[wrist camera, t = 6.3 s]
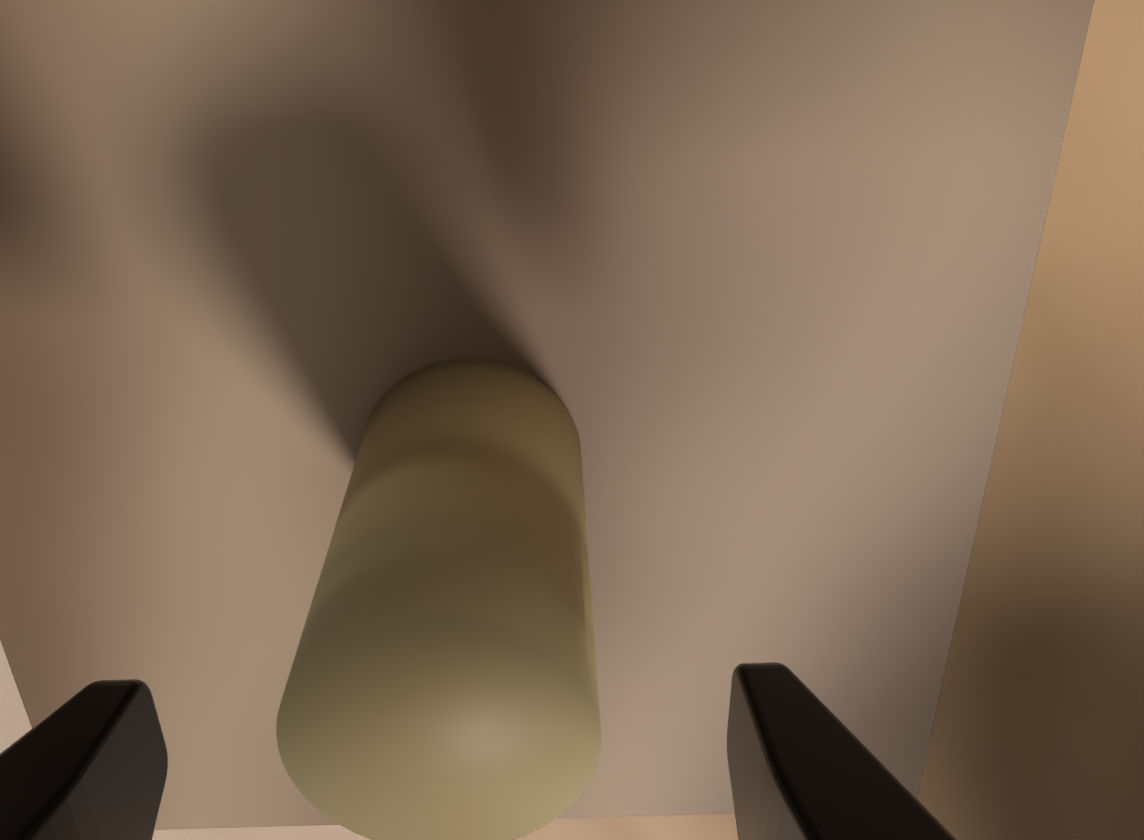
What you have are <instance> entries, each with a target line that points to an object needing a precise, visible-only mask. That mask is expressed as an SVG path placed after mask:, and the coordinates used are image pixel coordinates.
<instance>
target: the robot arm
mask: <svg viewBox="0 0 1144 840" xmlns="http://www.w3.org/2000/svg"><path fill="white" fill-rule="evenodd" d="M727 758H728V766H729V774H730V781H731V788H732V796H733V803H734V810H735V817H736V825H737V832H738V839H739V840H956V839H955V838H954V837H953V836H952V835H951V834H950V833H949V832H948V831H947V830H946V829H945V828H944V827H943V826H942V825H941V824H940V823H939V822H938V820H937V819H936V818H935V817H934V816H933V815H932V814H931V813H930V812H929V811H928V810H927V809H926V808H925V807H924V806H923V805H922V804H921V803H920V802H919V801H918V800H917V799H916V798H915V797H914V796H913V795H912V794H911V793H910V792H909V791H908V790H907V789H906V788H905V787H904V786H903V785H902V784H901V783H900V782H899V781H898V779H897V778H896V777H895V776H894V775H893V774H892V773H891V772H890V771H889V770H888V769H887V768H886V767H885V766H884V765H883V764H882V763H881V762H880V761H879V760H878V759H877V758H876V757H875V756H874V755H873V754H872V753H871V752H870V751H869V750H868V749H867V748H866V747H865V746H864V745H863V744H862V743H861V742H860V741H859V740H858V738H857V737H856V736H855V735H854V734H853V733H852V732H851V731H850V730H849V729H848V728H847V727H846V726H845V725H844V724H843V723H842V722H841V721H840V720H839V719H838V718H837V717H836V716H835V715H834V714H833V713H832V712H831V711H830V710H829V709H828V708H827V707H826V706H825V705H824V704H823V703H822V702H821V701H820V700H819V699H818V697H817V696H816V695H815V694H814V693H813V692H812V691H811V690H810V689H809V688H808V687H807V686H806V685H805V684H804V683H803V682H802V681H801V680H800V679H799V678H798V677H797V676H796V675H795V674H794V673H793V672H792V671H791V670H790V669H789V668H788V667H787V666H785V665H783V664H782V663H777V662H768V663H742V664H739V665H738V666H737V667H735V669H734V671H733V675H732V683H731V694H730V704H729V715H728V726H727ZM167 770H168V753H167V747H166V743H165V740H164V736H163V732H162V729H161V725H160V722H159V718H158V714H157V711H156V707H155V703H154V700H153V696H152V693H151V691H150V688H149V687H148V685H147V684H146V683H145V682H144V681H141V680H138V679H124V680H100V681H95V682H93V683H91V684H89V685H87V686H86V687H84V688H83V689H82V690H81V691H79V692H78V693H77V694H76V695H74V696H73V697H72V698H70V699H69V700H68V701H67V702H65V703H64V704H63V705H62V706H60V707H59V708H58V709H56V710H55V711H54V712H53V713H51V714H50V715H49V716H48V717H46V718H45V719H44V720H43V721H41V722H40V723H39V724H37V725H36V726H35V727H34V728H32V729H31V730H30V731H29V732H27V733H26V734H25V735H23V736H22V737H21V738H20V739H18V740H17V741H16V742H15V743H13V744H12V745H11V746H10V747H8V748H7V749H6V750H4V751H3V752H2V753H1V754H0V840H152V837H153V833H154V829H155V824H156V820H157V816H158V812H159V808H160V803H161V799H162V795H163V791H164V787H165V782H166V777H167Z"/></svg>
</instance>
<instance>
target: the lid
mask: <svg viewBox="0 0 1144 840" xmlns="http://www.w3.org/2000/svg"><path fill="white" fill-rule="evenodd" d="M1093 3H1094V0H0V640H1V643H2V646H3V649H4V651H5V654H6V657H7V660H8V662H9V665H10V668H11V671H12V674H13V676H14V679H15V682H16V685H17V687H18V690H19V693H20V696H21V699H22V701H23V704H24V707H25V710H26V713H27V715H28V718H29V721H30V724H31V726H32V728H34V727H35V726H36V725H37V724H39V723H40V722H41V721H43V720H44V719H45V718H46V717H48V716H49V715H50V714H51V713H53V712H54V711H55V710H56V709H58V708H59V707H60V706H62V705H63V704H64V703H65V702H67V701H68V700H69V699H70V698H72V697H73V696H74V695H76V694H77V693H78V692H79V691H81V690H82V689H83V688H84V687H86V686H87V685H89V684H91V683H93V682H95V681H100V680H124V679H138V680H141V681H144V682H145V683H146V684H147V685H148V687H149V688H150V691H151V693H152V696H153V700H154V703H155V707H156V711H157V714H158V718H159V722H160V725H161V729H162V732H163V736H164V740H165V743H166V747H167V753H168V770H167V777H166V782H165V787H164V791H163V795H162V799H161V803H160V808H159V812H158V816H157V820H156V824H155V829H154V830H167V829H202V828H237V827H272V826H307V825H341V826H343V827H345V828H347V829H349V830H351V831H353V832H354V833H357V834H359V835H362V836H364V837H367V838H369V839H372V840H515V839H518V838H520V837H523V836H526V835H528V834H530V833H532V832H534V831H536V830H538V829H540V828H542V827H543V826H545V825H546V824H548V823H550V822H551V821H553V820H554V819H556V818H588V817H623V816H658V815H693V814H729V813H735V810H734V803H733V796H732V788H731V781H730V774H729V766H728V758H727V726H728V715H729V704H730V694H731V683H732V675H733V671H734V669H735V667H737V666H738V665H739V664H742V663H768V662H777V663H782V664H783V665H785V666H787V667H788V668H789V669H790V670H791V671H792V672H793V673H794V674H795V675H796V676H797V677H798V678H799V679H800V680H801V681H802V682H803V683H804V684H805V685H806V686H807V687H808V688H809V689H810V690H811V691H812V692H813V693H814V694H815V695H816V696H817V697H818V699H819V700H820V701H821V702H822V703H823V704H824V705H825V706H826V707H827V708H828V709H829V710H830V711H831V712H832V713H833V714H834V715H835V716H836V717H837V718H838V719H839V720H840V721H841V722H842V723H843V724H844V725H845V726H846V727H847V728H848V729H849V730H850V731H851V732H852V733H853V734H854V735H855V736H856V737H857V738H858V740H859V741H860V742H861V743H862V744H863V745H864V746H865V747H866V748H867V749H868V750H869V751H870V752H871V753H872V754H873V755H874V756H875V757H876V758H877V759H878V760H879V761H880V762H881V763H882V764H883V765H884V766H885V767H886V768H887V769H888V770H889V771H890V772H891V773H892V774H893V775H894V776H895V777H896V778H897V779H898V781H899V782H900V783H901V784H902V785H903V786H904V787H905V788H906V789H907V790H908V791H909V792H910V793H911V794H912V795H913V796H914V797H915V798H917V794H918V789H919V785H920V780H921V776H922V771H923V767H924V762H925V758H926V753H927V749H928V744H929V740H930V735H931V731H932V726H933V722H934V718H935V713H936V709H937V704H938V700H939V695H940V691H941V686H942V682H943V677H944V673H945V668H946V664H947V659H948V655H949V650H950V646H951V641H952V637H953V632H954V628H955V623H956V619H957V614H958V610H959V605H960V601H961V596H962V592H963V587H964V583H965V578H966V574H967V569H968V565H969V560H970V556H971V551H972V547H973V542H974V538H975V533H976V529H977V524H978V520H979V515H980V511H981V506H982V502H983V497H984V493H985V488H986V484H987V479H988V475H989V470H990V466H991V461H992V457H993V452H994V448H995V443H996V439H997V434H998V430H999V425H1000V421H1001V416H1002V412H1003V407H1004V403H1005V398H1006V394H1007V389H1008V385H1009V380H1010V376H1011V371H1012V367H1013V362H1014V358H1015V353H1016V349H1017V345H1018V340H1019V336H1020V331H1021V327H1022V322H1023V318H1024V313H1025V309H1026V304H1027V300H1028V295H1029V291H1030V286H1031V282H1032V277H1033V273H1034V268H1035V264H1036V259H1037V255H1038V250H1039V246H1040V241H1041V237H1042V232H1043V228H1044V223H1045V219H1046V214H1047V210H1048V205H1049V201H1050V196H1051V192H1052V187H1053V183H1054V178H1055V174H1056V169H1057V165H1058V160H1059V156H1060V151H1061V147H1062V142H1063V138H1064V133H1065V129H1066V124H1067V120H1068V115H1069V111H1070V106H1071V102H1072V97H1073V93H1074V88H1075V84H1076V79H1077V75H1078V70H1079V66H1080V61H1081V57H1082V52H1083V48H1084V43H1085V39H1086V34H1087V30H1088V25H1089V21H1090V16H1091V12H1092V7H1093Z"/></svg>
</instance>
